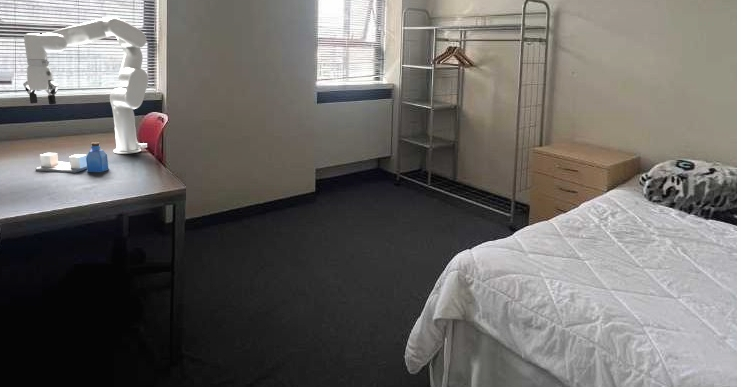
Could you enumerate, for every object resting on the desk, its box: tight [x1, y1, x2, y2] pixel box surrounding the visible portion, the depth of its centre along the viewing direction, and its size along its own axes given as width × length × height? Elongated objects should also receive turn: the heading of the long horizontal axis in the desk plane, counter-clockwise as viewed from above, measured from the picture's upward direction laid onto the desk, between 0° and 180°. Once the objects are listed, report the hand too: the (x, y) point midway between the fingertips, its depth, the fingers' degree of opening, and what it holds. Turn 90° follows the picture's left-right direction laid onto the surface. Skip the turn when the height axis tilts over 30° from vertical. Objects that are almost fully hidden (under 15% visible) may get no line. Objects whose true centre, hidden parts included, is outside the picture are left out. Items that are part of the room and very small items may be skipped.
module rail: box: [34, 152, 87, 174], centre depth 231 cm, size 18×12×6 cm, turn 83°
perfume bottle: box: [86, 141, 109, 173], centre depth 228 cm, size 6×6×12 cm
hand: (43, 103), depth 235 cm, fingers open, 9 cm apart
